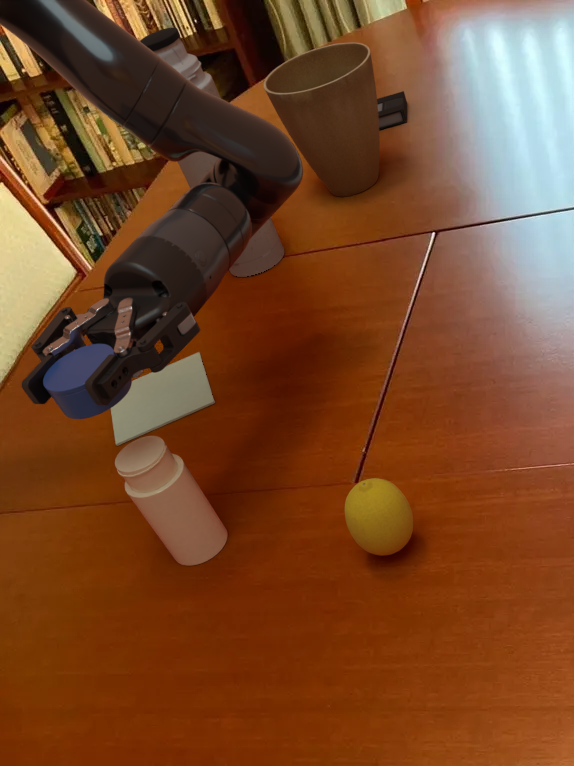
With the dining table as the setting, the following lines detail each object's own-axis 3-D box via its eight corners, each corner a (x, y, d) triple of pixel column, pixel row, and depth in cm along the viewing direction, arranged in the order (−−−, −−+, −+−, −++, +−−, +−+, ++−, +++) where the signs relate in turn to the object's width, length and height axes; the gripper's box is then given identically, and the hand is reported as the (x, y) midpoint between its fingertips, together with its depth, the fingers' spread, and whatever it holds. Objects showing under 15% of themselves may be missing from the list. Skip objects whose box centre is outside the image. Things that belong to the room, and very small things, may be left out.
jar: (169, 571, 83) (103, 482, 74) (177, 530, 86) (115, 441, 78) (225, 557, 82) (165, 466, 74) (230, 517, 86) (173, 425, 77)
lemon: (354, 547, 78) (321, 482, 72) (407, 517, 79) (380, 450, 73) (378, 584, 75) (346, 518, 69) (434, 552, 75) (408, 484, 70)
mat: (116, 446, 99) (115, 444, 99) (109, 393, 107) (108, 391, 107) (215, 403, 100) (214, 401, 99) (200, 353, 108) (199, 351, 108)
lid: (128, 362, 74) (110, 333, 72) (137, 397, 70) (118, 368, 68) (61, 392, 73) (41, 364, 71) (65, 429, 69) (44, 401, 67)
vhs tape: (407, 122, 138) (403, 109, 137) (321, 147, 141) (316, 134, 139) (407, 104, 143) (403, 91, 142) (324, 128, 146) (319, 115, 144)
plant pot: (291, 215, 127) (244, 99, 115) (331, 164, 135) (291, 50, 123) (383, 206, 121) (343, 83, 109) (418, 153, 129) (385, 33, 118)
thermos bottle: (220, 268, 122) (112, 47, 101) (266, 239, 124) (170, 17, 103) (247, 283, 117) (140, 53, 96) (295, 253, 119) (200, 22, 98)
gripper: (254, 308, 77) (157, 435, 68) (128, 313, 83) (23, 431, 74) (216, 228, 72) (106, 355, 63) (84, 238, 78) (-35, 356, 68)
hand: (62, 395), depth 68 cm, fingers closed on lid, 6 cm apart
